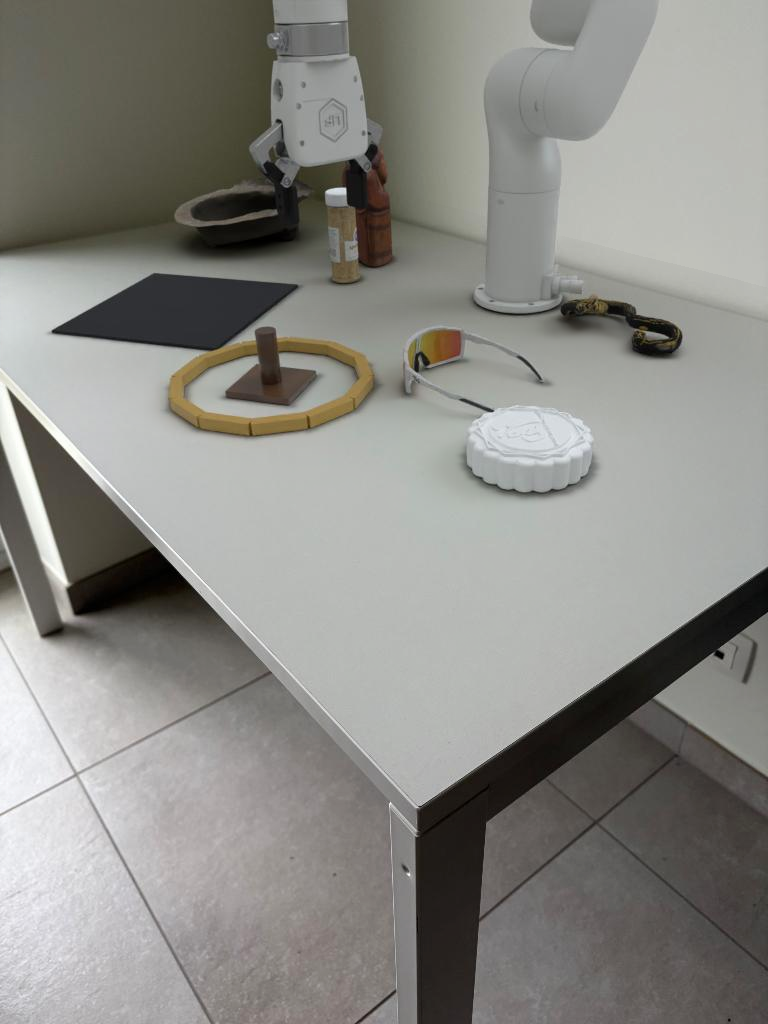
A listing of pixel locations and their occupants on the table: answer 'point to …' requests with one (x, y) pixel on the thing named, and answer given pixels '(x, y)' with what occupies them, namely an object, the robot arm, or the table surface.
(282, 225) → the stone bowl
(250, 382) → the wooden peg stand
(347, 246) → the sprinkles bottle
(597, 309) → the rubber snake
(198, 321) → the mat
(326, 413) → the ring
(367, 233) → the wooden figurine
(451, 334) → the sunglasses
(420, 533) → the table surface
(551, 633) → the table surface
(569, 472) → the mooncake
